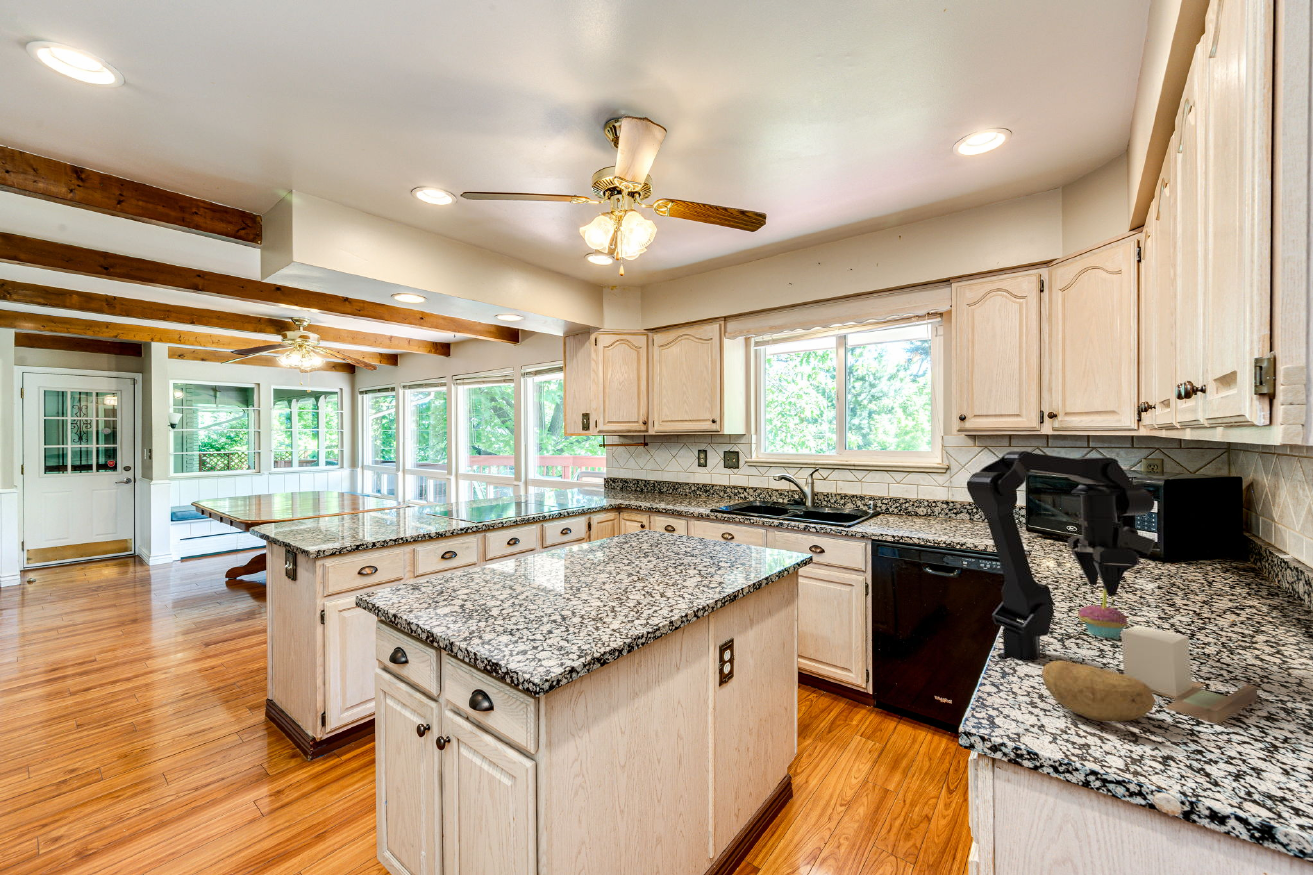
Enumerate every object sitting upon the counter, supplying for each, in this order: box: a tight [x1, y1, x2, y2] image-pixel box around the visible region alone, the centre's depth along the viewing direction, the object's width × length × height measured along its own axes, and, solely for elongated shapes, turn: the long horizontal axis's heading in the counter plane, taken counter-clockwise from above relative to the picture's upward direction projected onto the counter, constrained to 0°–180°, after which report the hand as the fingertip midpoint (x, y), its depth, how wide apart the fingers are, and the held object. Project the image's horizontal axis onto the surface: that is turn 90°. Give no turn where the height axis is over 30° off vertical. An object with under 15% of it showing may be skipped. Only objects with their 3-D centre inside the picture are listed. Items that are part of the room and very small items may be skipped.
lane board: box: [1150, 679, 1259, 725], centre depth 90 cm, size 15×16×3 cm
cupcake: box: [1077, 589, 1128, 640], centre depth 117 cm, size 9×8×12 cm
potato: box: [1041, 660, 1156, 723], centre depth 85 cm, size 10×14×8 cm
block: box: [1120, 624, 1192, 697], centre depth 92 cm, size 7×6×9 cm
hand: (1102, 590), depth 110 cm, fingers open, 9 cm apart
